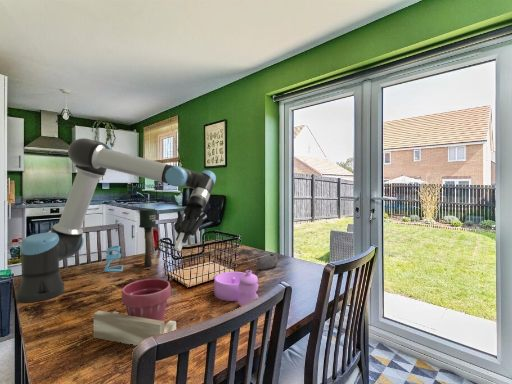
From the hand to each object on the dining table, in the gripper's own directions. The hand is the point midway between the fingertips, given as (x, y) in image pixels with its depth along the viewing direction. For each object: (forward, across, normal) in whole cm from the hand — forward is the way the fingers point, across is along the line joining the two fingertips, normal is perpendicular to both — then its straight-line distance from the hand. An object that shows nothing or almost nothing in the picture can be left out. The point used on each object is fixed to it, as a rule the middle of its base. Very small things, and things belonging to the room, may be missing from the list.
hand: (177, 249), depth 105 cm
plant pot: (+27, -1, 0) cm, 27 cm away
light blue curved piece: (-1, +49, -32) cm, 59 cm away
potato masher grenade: (-8, +37, -39) cm, 54 cm away
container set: (+7, -21, -21) cm, 31 cm away
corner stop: (+31, -1, +4) cm, 31 cm away
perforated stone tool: (-20, -24, -50) cm, 59 cm away
